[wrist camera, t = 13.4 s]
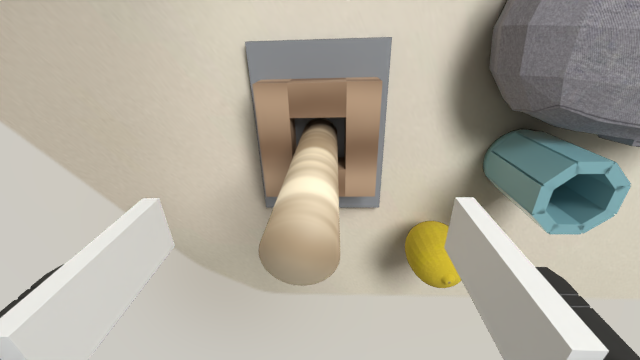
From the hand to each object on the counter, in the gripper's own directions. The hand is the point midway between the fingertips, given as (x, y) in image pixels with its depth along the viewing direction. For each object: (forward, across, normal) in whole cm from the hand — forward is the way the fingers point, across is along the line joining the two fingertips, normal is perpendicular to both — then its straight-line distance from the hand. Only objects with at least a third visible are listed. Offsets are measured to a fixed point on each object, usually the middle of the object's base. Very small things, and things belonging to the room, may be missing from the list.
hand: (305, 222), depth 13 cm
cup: (+16, +19, -4) cm, 25 cm away
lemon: (+16, +11, -12) cm, 23 cm away
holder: (+15, 0, -1) cm, 15 cm away
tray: (+16, 0, -1) cm, 16 cm away
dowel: (+15, 0, -1) cm, 15 cm away
